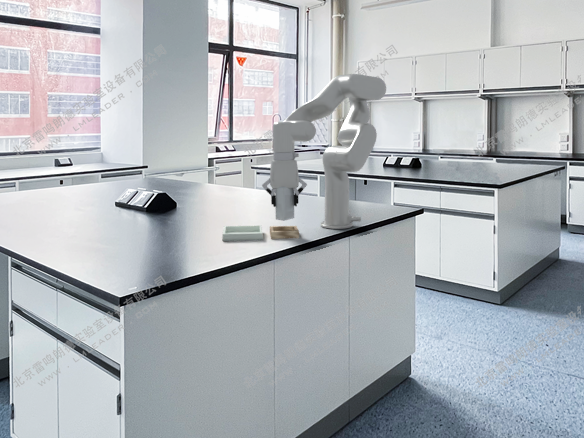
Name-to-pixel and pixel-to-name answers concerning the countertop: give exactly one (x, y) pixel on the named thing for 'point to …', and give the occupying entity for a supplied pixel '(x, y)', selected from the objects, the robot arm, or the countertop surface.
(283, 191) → the skincare box
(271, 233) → the wooden square frame
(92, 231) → the countertop surface
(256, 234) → the tray
